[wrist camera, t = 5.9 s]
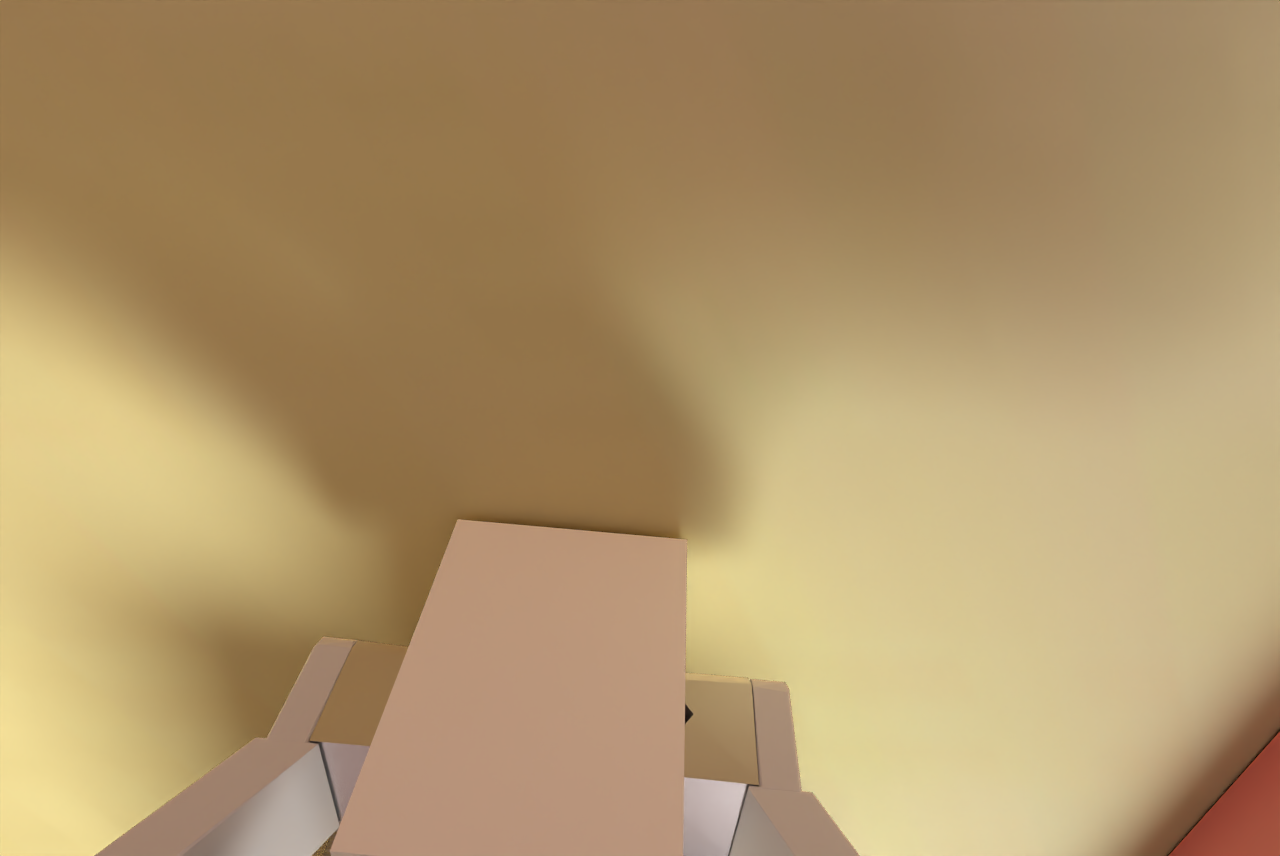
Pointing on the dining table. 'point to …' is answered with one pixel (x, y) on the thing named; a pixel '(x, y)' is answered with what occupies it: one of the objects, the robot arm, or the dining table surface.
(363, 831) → the pale pink block
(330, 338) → the dining table surface
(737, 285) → the dining table surface
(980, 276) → the dining table surface
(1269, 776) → the tray
